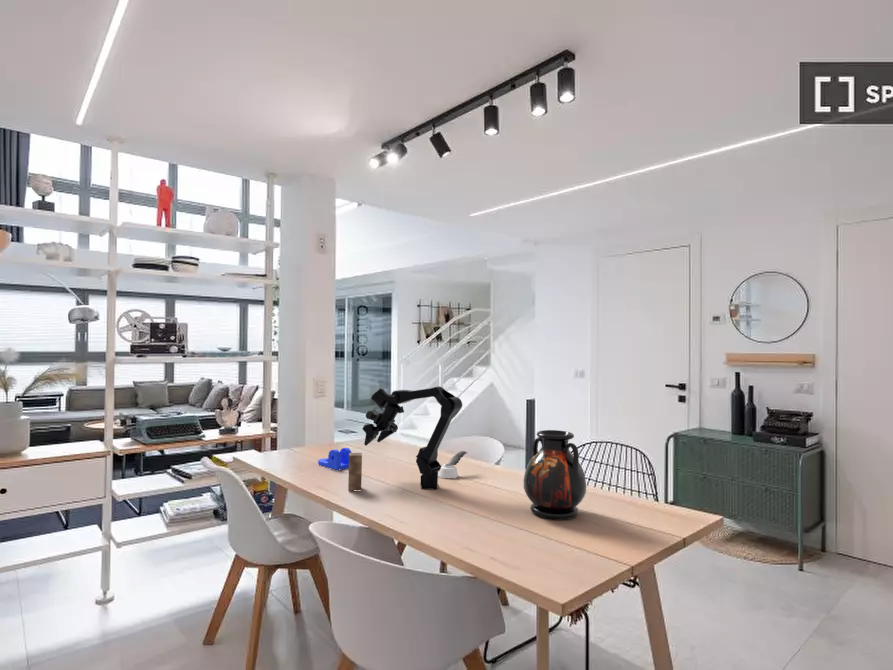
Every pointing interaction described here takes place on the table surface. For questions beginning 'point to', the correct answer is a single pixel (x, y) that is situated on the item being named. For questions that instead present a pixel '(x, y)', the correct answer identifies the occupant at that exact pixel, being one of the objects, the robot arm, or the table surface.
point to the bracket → (336, 459)
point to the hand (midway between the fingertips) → (371, 443)
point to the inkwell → (451, 466)
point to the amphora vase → (554, 476)
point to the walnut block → (355, 471)
